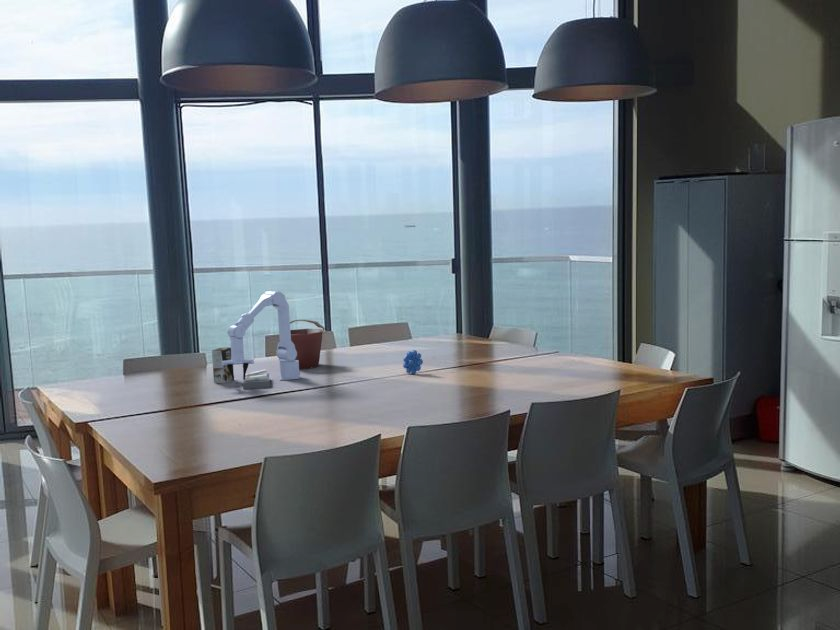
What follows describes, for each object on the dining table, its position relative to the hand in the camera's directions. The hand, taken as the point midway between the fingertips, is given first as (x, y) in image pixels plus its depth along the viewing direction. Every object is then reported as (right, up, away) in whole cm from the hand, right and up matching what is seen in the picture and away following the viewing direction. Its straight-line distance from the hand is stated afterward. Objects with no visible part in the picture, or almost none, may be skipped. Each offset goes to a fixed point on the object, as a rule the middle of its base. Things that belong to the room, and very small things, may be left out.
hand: (238, 379), depth 390 cm
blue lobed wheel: (+82, +1, +19) cm, 84 cm away
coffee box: (-11, -2, +18) cm, 21 cm away
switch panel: (+7, -3, +7) cm, 10 cm away
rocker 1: (+6, +2, +12) cm, 14 cm away
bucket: (+23, +3, +50) cm, 55 cm away
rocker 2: (+8, +1, +1) cm, 8 cm away
